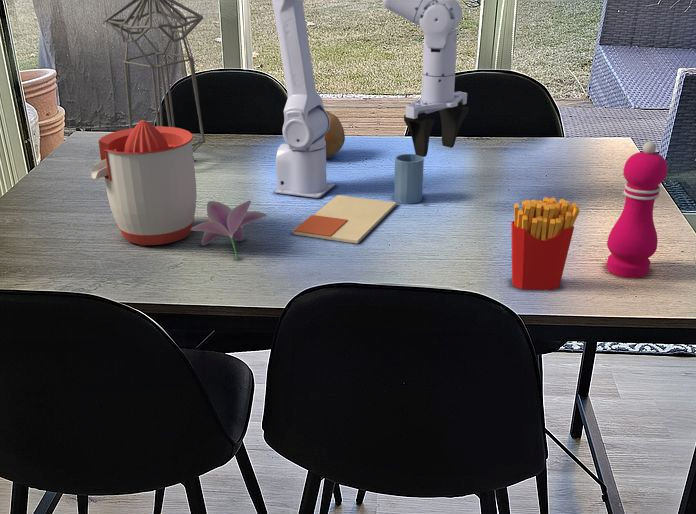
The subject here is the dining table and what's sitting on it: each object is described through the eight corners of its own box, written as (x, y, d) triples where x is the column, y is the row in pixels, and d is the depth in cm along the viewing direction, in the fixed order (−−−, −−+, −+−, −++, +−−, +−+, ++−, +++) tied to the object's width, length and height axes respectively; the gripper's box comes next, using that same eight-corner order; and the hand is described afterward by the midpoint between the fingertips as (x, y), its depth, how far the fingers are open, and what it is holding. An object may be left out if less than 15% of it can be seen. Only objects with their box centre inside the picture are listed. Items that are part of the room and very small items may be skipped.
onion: (303, 150, 187) (302, 105, 182) (347, 151, 186) (347, 106, 181) (296, 163, 179) (295, 117, 174) (342, 164, 178) (342, 117, 173)
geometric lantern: (169, 149, 191) (150, -17, 173) (220, 159, 183) (206, -13, 165) (118, 166, 180) (92, -9, 162) (170, 179, 172) (149, -4, 154)
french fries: (507, 289, 124) (516, 206, 117) (504, 277, 127) (512, 196, 121) (570, 290, 123) (582, 206, 116) (565, 278, 126) (577, 196, 120)
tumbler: (390, 201, 157) (391, 160, 153) (399, 193, 161) (400, 152, 157) (417, 205, 155) (418, 163, 151) (425, 196, 160) (427, 155, 155)
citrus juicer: (95, 228, 149) (75, 116, 138) (189, 213, 154) (177, 104, 144) (112, 260, 136) (92, 139, 126) (213, 242, 142) (202, 125, 132)
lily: (279, 249, 141) (262, 194, 141) (262, 248, 130) (245, 189, 129) (214, 269, 144) (198, 215, 143) (192, 270, 132) (175, 212, 131)
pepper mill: (596, 261, 132) (616, 136, 121) (640, 259, 132) (663, 134, 122) (613, 280, 125) (636, 150, 115) (659, 278, 126) (686, 147, 116)
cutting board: (293, 234, 144) (293, 230, 144) (337, 197, 160) (337, 193, 159) (357, 243, 140) (357, 239, 139) (396, 205, 156) (396, 201, 155)
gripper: (429, 83, 137) (425, 164, 144) (482, 69, 145) (476, 146, 152) (397, 77, 141) (395, 156, 148) (451, 64, 150) (446, 139, 157)
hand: (434, 150), depth 150 cm, fingers open, 7 cm apart
